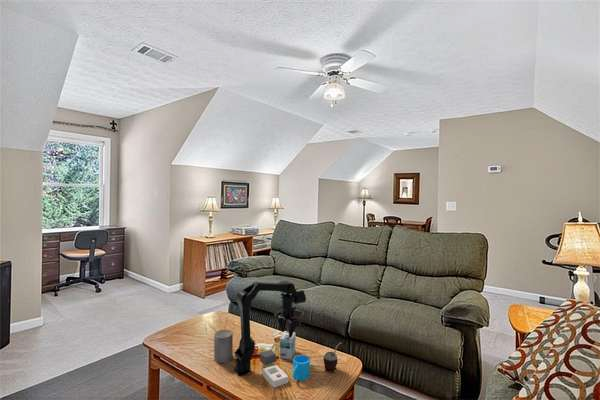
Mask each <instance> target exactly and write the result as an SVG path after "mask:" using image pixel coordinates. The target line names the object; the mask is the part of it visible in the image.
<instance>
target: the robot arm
mask: <svg viewBox="0 0 600 400" xmlns="http://www.w3.org/2000/svg"><path fill="white" fill-rule="evenodd" d="M260 291H262V292H264V291H268V292H280V294H279V295H278V298H279V299H280V298H281V299H282V300H281V306H280V310H279V309H278V310H275V311H274V313H273V317H275V320H276V323H277V325H278V327H279V329H280V332H284V326H285V321H286V328H287V331H288V333H289V337H290V338H291V337H292V335H293V332H295V330H296V328H297V327H300V326H301V320H300V319H298V318H301V317H302V313H303V312H302V311H301V310H300V309H297V307H296V306H294V305H298V304H305V302H306V301H307V297H306V294H305V291H304V290H303V289H300V290H297V289H296V288H295V285H294V283H292V282H291V281H287V280H283V281H281V280H280V281H279V282H267V281H264V282H263V281H254V282H252V283H251V284H249V285H247V286H246V287H245V288H243V289H241V290H239V291H238V292H237V294H236V297H235V298H236V302H237V306H238V308H239V317H240V336H241V337H240V340H239V343H238V345H239V346H238V348H237V349H236V350H235V351H234V353H233V355H234V356H235V368H234V369H233V371H234V372H235V373H236V374H237V376H239V377H240V376H244V375H248V374H250V373H252V370H251V360H252V357H253V355H254V354H255V350H256V341H255V339H253V338H252V337H251V320H250V317H251V316H250V309H251V307H252V302H253V300H254V299H255V298H256V297H257V295H258V293H259V292H260ZM293 304H294V305H293ZM297 317H298V318H297Z"/></svg>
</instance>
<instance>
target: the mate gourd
mask: <svg viewBox="0 0 600 400" xmlns="http://www.w3.org/2000/svg"><path fill="white" fill-rule="evenodd" d="M341 344H343V342H339V343H338V344H336V346H335V349H334V352H333V351H327V352H325V354H324V355H323V365H324V372H329V371H330V372H331V373H332V374H334V373H335V371H334V370H336V369H337V368H336V367H337V365H338V362H339V361H338V356H337V354H336V351H337V349H338V347H339V346H340V345H341Z"/></svg>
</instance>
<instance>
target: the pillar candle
mask: <svg viewBox="0 0 600 400" xmlns="http://www.w3.org/2000/svg"><path fill="white" fill-rule="evenodd" d="M233 333H234V332H233V331H232V330H230V329H220V330H216V332H214V334H213V335H214V337H213V339H214V341H213V342H214V344H213V347H214V348H213V349H214V351H213V353H214V354H213V358H214V359H213V360H214V362H215V363H217V364H222V363H223V364H224V363H228V362H230V361H232V360H233V357H234V353H233V352H234V351H233V349H234V348H233V345H234V344H233V343H234V342H233V340H234V339H233Z"/></svg>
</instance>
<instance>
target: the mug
mask: <svg viewBox="0 0 600 400" xmlns="http://www.w3.org/2000/svg"><path fill="white" fill-rule="evenodd" d="M310 363H311V359H310V357H309V356H307V355H304V354H299V355H298V354H297V355H295V356H293V357H292V364H293V365H292V368H293V369H292V378H293V380H295V381H306V380H309V378H310V369H311V364H310Z"/></svg>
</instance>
